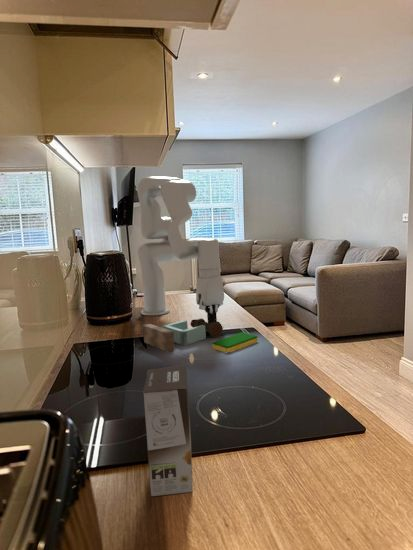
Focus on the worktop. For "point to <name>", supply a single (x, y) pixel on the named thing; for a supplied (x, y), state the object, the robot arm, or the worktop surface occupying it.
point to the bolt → (209, 327)
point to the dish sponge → (234, 342)
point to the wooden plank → (159, 337)
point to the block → (186, 332)
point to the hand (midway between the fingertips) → (212, 323)
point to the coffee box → (168, 430)
